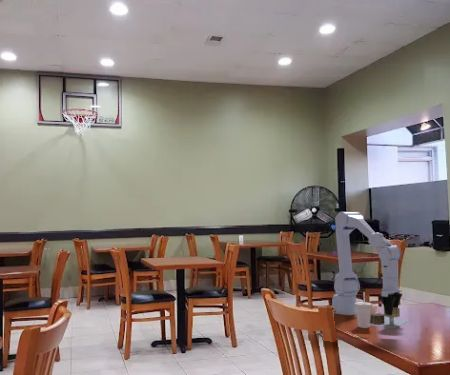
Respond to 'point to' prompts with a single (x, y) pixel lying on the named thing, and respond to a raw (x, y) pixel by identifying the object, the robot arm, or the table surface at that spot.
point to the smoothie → (363, 313)
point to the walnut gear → (377, 318)
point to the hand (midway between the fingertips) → (391, 313)
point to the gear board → (396, 323)
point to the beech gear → (393, 313)
